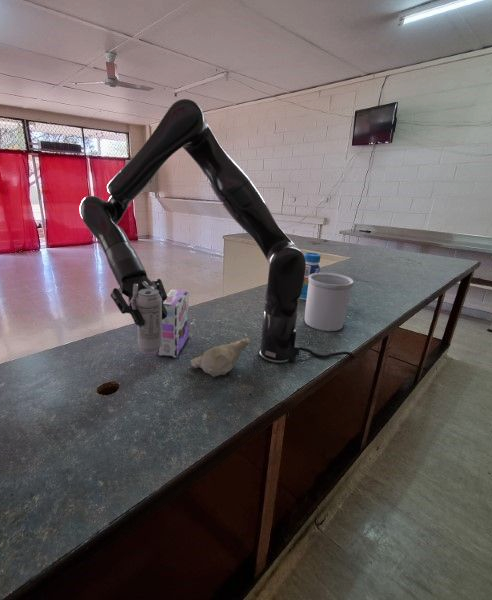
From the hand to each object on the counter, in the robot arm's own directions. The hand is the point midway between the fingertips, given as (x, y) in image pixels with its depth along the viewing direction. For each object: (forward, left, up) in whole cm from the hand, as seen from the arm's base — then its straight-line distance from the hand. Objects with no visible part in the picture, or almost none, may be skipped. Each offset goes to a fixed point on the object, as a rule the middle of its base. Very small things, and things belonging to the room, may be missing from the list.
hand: (153, 321), depth 77 cm
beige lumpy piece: (-17, -8, -16) cm, 25 cm away
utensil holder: (-51, -44, -16) cm, 69 cm away
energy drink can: (+1, -1, -8) cm, 8 cm away
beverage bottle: (-49, -72, -16) cm, 88 cm away
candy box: (-1, -17, -16) cm, 23 cm away
